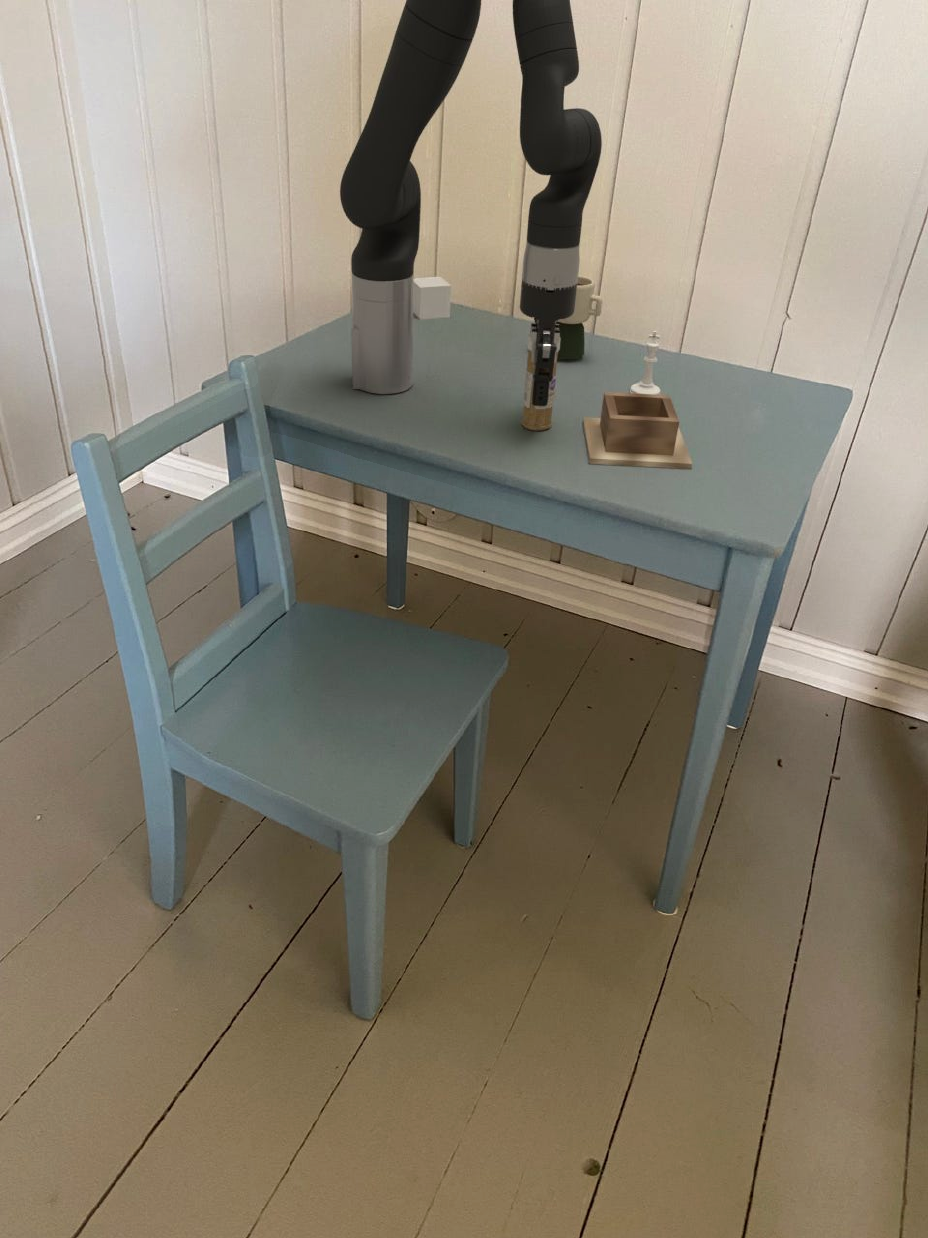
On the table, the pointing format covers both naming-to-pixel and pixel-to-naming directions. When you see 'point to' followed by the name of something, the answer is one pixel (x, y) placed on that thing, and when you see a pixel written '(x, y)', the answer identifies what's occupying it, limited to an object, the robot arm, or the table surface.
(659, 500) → the table surface
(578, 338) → the character mug
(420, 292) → the white cube
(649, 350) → the chess piece
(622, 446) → the socket
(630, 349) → the table surface
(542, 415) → the sprinkles bottle
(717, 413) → the table surface
